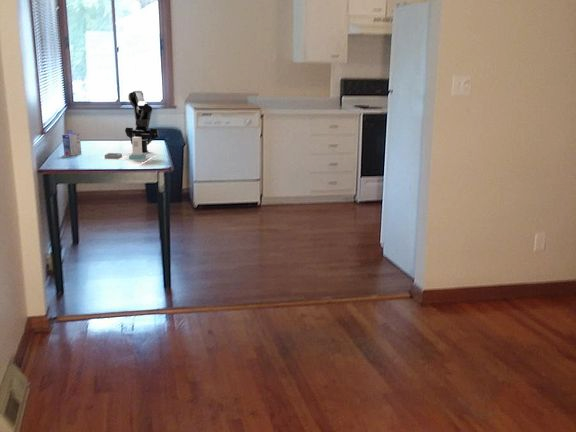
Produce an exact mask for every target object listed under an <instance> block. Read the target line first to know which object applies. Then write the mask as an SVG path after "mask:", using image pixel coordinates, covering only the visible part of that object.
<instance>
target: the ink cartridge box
mask: <svg viewBox="0 0 576 432" xmlns="http://www.w3.org/2000/svg"><path fill="white" fill-rule="evenodd" d="M66 132H67V134H62V135H61V136H62V144H63V145H62V146H63V154H64V156H69V157H72V156H75V155H80V154H82V146H81V145H82V144H81V134H80V133H79V132H78V133H77V132H73V131H72V130H71V129H68V130H66Z"/></svg>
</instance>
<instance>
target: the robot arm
mask: <svg viewBox="0 0 576 432" xmlns="http://www.w3.org/2000/svg"><path fill="white" fill-rule="evenodd" d="M127 96H128V101H129V105H131V106H132V107H133V111H134V112H133V113H134V119H135V126H136V127H135V129H134V128H133V127H125V129H124V132H125V134H126V136H127V137H128V138H129V139H130V143H131V145H132V137H142V153H145V152H146V153H147V152H149V150H148V146H149V145H150V144H151V143H152V141H154V140H155V139H157V138H158V139H159V137H160V132H159V130H158V128H155V127H153V128H152V127H151V128H150V126H149V125H150V122H151V117H152V114H153V113H152V112H153V107H152V106H151V105H149V103H147V102H146V101H145V99H144V92H143V91H142V90H133V91H132V92H129V93H128V95H127Z"/></svg>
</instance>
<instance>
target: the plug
mask: <svg viewBox="0 0 576 432" xmlns="http://www.w3.org/2000/svg"><path fill="white" fill-rule="evenodd" d="M142 140H143V139H142V137H132V144H131V145H132V146H131V147H132V149H131V151H132V154H133V155H134V156H142V154H143V152H142Z"/></svg>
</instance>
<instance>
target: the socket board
mask: <svg viewBox="0 0 576 432" xmlns="http://www.w3.org/2000/svg"><path fill="white" fill-rule="evenodd" d="M101 159H102V160H122V161H124V160H125V161H142V163H144V162H146V161H148V160H150V157H149V156H147V154H146V153H142V156H134V155H133V153H131V154H129V155H128V156H127V155H123V153H118V152H115V153H114V152H108V153H106V154H104V157H103V158H101Z"/></svg>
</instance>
